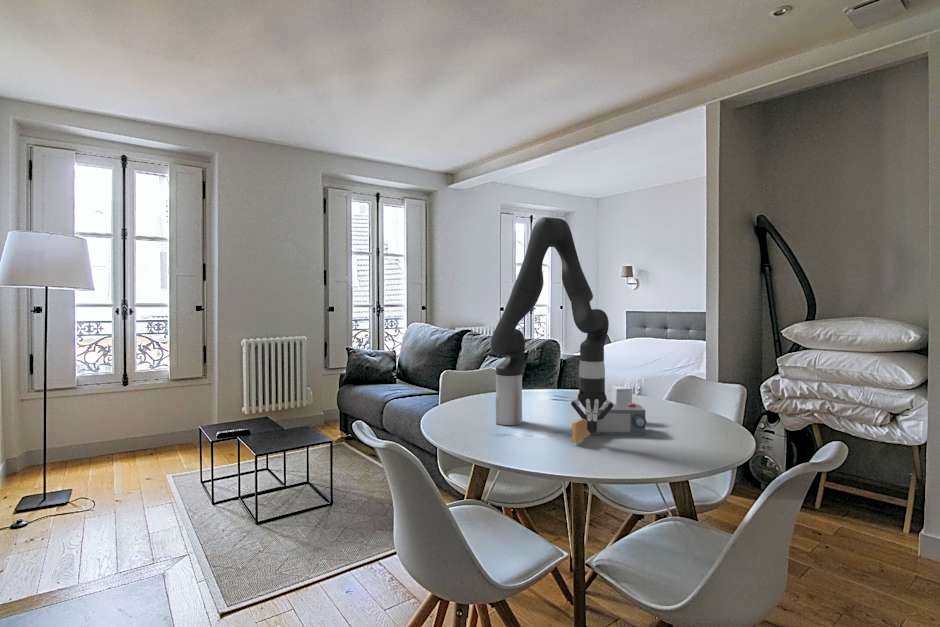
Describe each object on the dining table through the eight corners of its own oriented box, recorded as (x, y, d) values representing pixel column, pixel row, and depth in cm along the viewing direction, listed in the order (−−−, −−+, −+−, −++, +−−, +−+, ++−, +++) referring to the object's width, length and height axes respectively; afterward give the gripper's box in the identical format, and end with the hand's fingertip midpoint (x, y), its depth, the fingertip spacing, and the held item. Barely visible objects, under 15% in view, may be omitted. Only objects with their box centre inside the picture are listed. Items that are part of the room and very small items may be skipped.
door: (589, 432, 166) (589, 411, 166) (594, 433, 165) (594, 412, 165) (570, 443, 153) (570, 421, 153) (575, 444, 152) (575, 422, 152)
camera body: (588, 435, 164) (589, 408, 164) (584, 426, 175) (584, 401, 174) (646, 436, 162) (646, 409, 162) (638, 427, 173) (639, 402, 173)
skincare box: (616, 423, 180) (616, 388, 179) (610, 420, 184) (611, 386, 184) (632, 422, 180) (632, 388, 180) (627, 419, 185) (627, 386, 184)
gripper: (569, 377, 151) (569, 435, 151) (615, 378, 148) (615, 437, 149) (569, 373, 158) (569, 428, 159) (613, 374, 156) (613, 430, 156)
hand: (592, 432), depth 154 cm, fingers closed
